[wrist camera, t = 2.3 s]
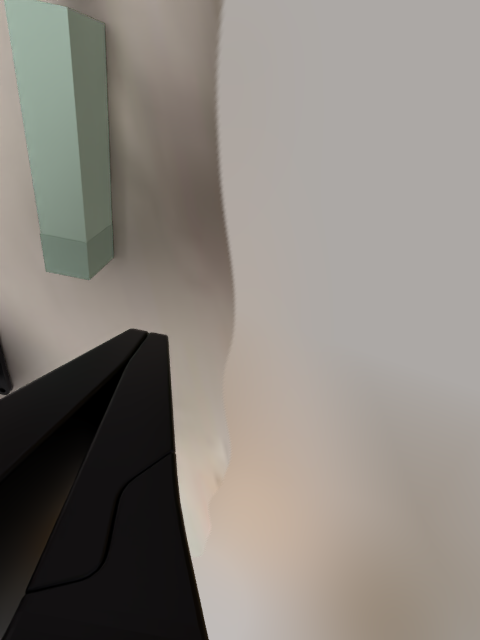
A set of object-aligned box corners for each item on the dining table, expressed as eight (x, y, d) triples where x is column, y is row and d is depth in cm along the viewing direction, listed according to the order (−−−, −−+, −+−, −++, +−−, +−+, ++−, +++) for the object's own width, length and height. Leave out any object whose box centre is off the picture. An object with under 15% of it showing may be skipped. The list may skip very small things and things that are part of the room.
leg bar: (113, 257, 20) (89, 280, 17) (75, 249, 20) (45, 271, 17) (105, 23, 14) (67, 7, 12) (51, 12, 14) (1, -8, 12)
